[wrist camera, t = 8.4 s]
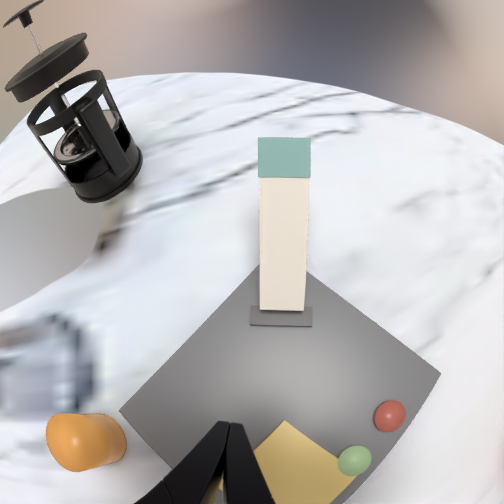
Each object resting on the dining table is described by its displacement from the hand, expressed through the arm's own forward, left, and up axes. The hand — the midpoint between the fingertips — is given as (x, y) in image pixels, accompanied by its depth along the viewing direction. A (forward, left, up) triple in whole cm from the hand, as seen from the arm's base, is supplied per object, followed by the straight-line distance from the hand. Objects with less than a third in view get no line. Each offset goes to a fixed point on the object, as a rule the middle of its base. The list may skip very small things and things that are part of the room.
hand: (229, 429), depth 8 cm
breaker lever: (+3, -6, -10) cm, 12 cm away
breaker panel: (-2, -1, -11) cm, 11 cm away
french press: (+28, -6, -11) cm, 31 cm away
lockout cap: (+6, +11, -11) cm, 17 cm away
